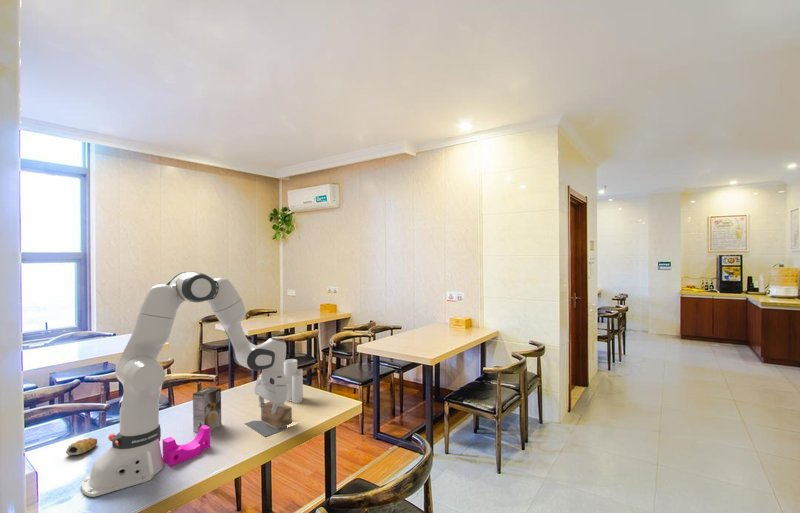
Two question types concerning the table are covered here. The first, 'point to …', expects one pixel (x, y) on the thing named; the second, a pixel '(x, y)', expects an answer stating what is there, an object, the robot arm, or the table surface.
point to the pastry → (81, 446)
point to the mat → (264, 428)
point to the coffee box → (207, 408)
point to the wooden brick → (276, 415)
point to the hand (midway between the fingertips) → (267, 410)
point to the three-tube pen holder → (293, 381)
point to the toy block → (185, 447)
